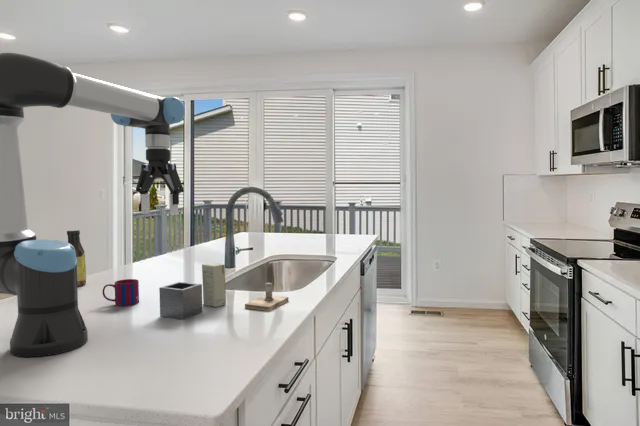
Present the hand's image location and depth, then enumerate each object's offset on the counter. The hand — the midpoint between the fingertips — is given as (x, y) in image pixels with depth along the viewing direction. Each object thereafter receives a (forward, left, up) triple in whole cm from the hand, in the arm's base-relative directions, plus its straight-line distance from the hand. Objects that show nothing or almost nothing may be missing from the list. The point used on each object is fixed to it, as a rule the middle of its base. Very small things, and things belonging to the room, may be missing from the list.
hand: (159, 214), depth 150 cm
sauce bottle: (-2, +38, -27) cm, 46 cm away
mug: (-14, +2, -27) cm, 30 cm away
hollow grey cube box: (-16, -22, -26) cm, 38 cm away
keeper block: (+2, -39, -26) cm, 47 cm away
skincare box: (-4, -24, -27) cm, 36 cm away
